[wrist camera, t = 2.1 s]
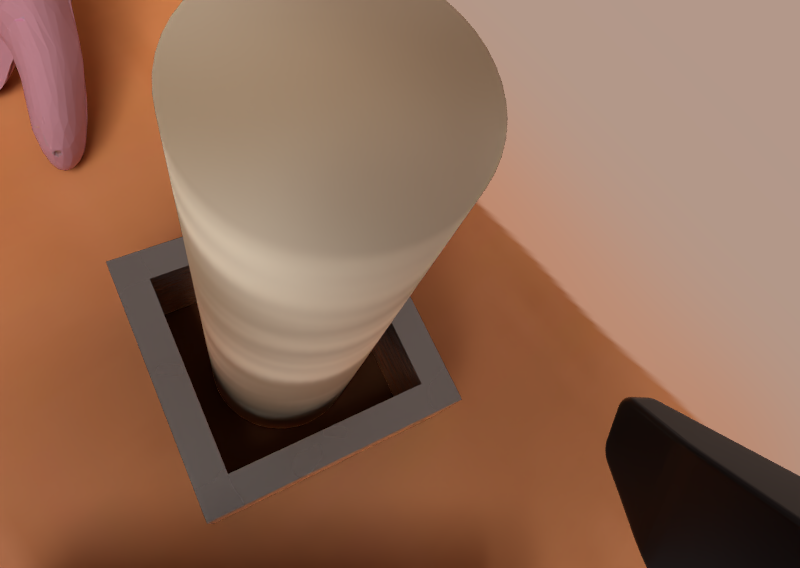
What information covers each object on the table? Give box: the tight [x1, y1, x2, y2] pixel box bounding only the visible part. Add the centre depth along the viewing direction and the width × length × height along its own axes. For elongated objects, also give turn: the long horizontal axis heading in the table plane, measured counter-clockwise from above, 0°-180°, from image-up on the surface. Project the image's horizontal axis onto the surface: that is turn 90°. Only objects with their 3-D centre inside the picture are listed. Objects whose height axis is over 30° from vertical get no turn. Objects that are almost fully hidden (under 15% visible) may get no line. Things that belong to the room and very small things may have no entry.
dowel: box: [152, 0, 507, 429], centre depth 13 cm, size 4×4×13 cm
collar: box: [106, 237, 462, 524], centre depth 18 cm, size 7×7×3 cm
